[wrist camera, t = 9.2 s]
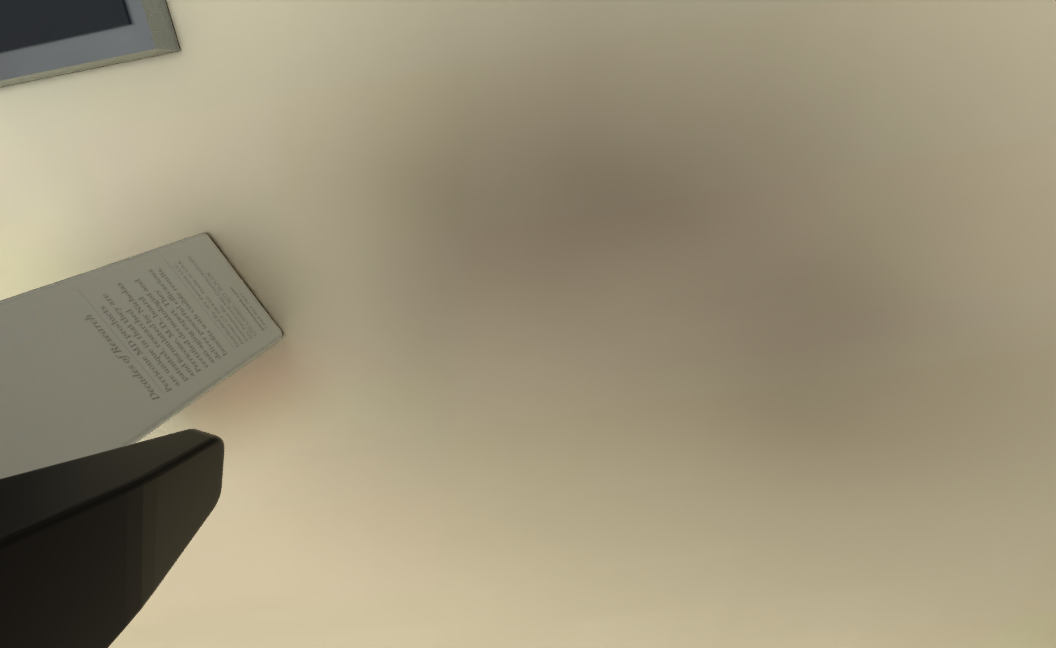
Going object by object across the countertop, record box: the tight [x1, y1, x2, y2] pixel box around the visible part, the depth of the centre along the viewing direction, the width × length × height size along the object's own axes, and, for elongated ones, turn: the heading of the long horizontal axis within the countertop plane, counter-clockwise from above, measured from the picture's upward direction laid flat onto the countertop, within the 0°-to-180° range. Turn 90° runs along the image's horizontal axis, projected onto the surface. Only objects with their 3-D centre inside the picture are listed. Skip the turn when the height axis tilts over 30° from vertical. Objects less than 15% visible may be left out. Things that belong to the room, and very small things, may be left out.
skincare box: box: [0, 233, 282, 479], centre depth 16 cm, size 6×4×12 cm
